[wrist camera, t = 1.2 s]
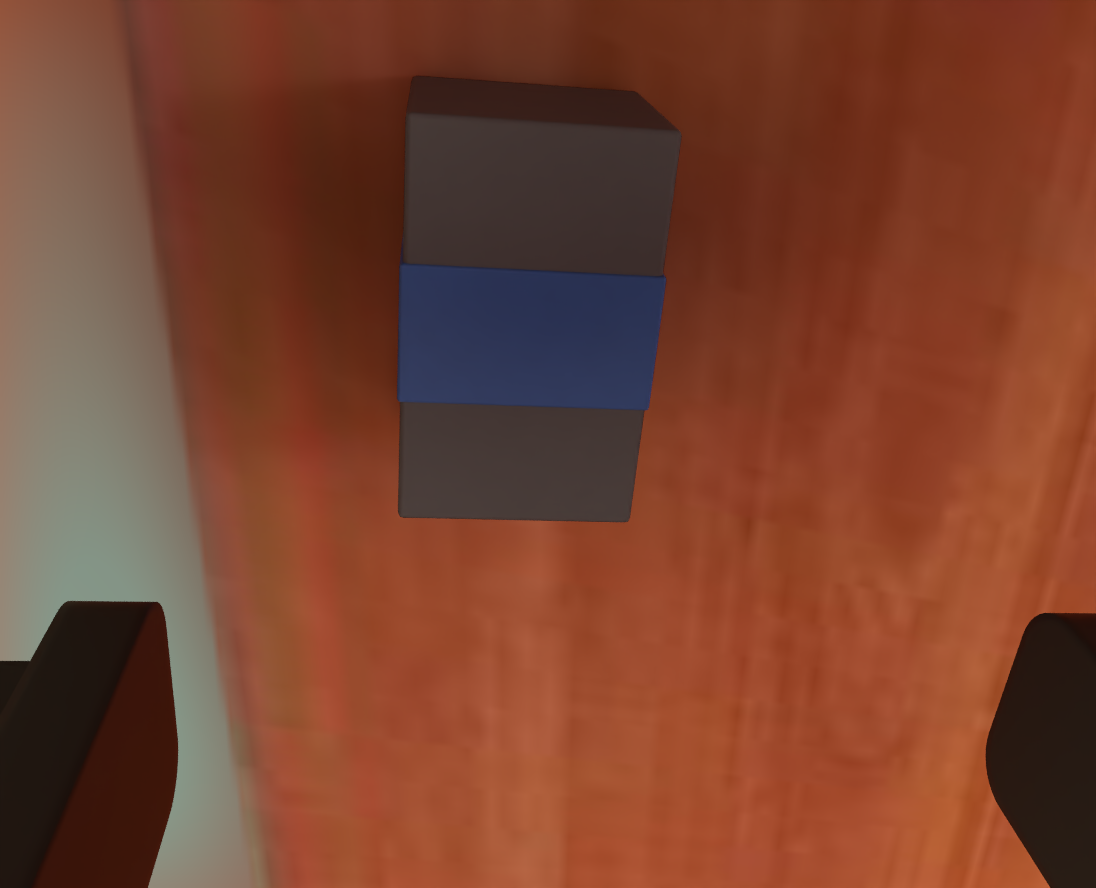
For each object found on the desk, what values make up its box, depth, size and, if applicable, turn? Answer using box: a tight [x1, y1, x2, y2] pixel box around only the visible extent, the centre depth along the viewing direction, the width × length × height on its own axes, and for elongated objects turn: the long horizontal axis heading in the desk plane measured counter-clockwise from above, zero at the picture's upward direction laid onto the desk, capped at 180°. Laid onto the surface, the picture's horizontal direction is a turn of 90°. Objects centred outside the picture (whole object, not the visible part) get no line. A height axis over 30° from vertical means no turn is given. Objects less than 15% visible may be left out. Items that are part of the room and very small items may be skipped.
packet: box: [397, 76, 682, 522], centre depth 19 cm, size 7×4×4 cm, turn 175°
